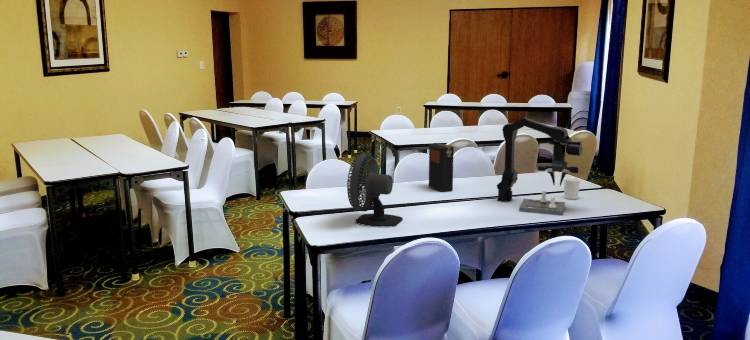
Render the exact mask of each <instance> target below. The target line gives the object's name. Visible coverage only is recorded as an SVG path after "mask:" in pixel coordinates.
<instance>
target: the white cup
mask: <svg viewBox="0 0 750 340" xmlns="http://www.w3.org/2000/svg"><path fill="white" fill-rule="evenodd" d="M563 180H564V183H563V184H564V185H563V192H564V194H563V195H564V196H563V197H564V199H566V200H577V199H579V192H580V187H581V186H580V184H581V179H579V178H577V177H564V179H563Z"/></svg>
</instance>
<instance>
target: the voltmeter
mask: <svg viewBox="0 0 750 340" xmlns="http://www.w3.org/2000/svg"><path fill="white" fill-rule="evenodd" d="M428 149H429V150H428V187H429V188H432V189H435V190H437V191H439V192H442V193H443V192H452V191H453V190H454V189H453V186H454V185H453V182H454V181H453V180H454V149H455V148H454V146H453V145H449V144H445V143H441V142H434V143H430V144H429V148H428Z"/></svg>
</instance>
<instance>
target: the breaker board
mask: <svg viewBox="0 0 750 340" xmlns="http://www.w3.org/2000/svg"><path fill="white" fill-rule="evenodd" d="M549 204H551V200H547V202H540V199H532V198H530V199H529V198H523V199H522V201H521V204H520V205H519V207H518V209H519V210H518V212H521V213H534V214H542V215H543V214H545V215H546V214H547V215H554V216H555V215H557V216H563V215H564V211H565V207H566V201H557V200H555V205H556V208H549Z"/></svg>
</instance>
